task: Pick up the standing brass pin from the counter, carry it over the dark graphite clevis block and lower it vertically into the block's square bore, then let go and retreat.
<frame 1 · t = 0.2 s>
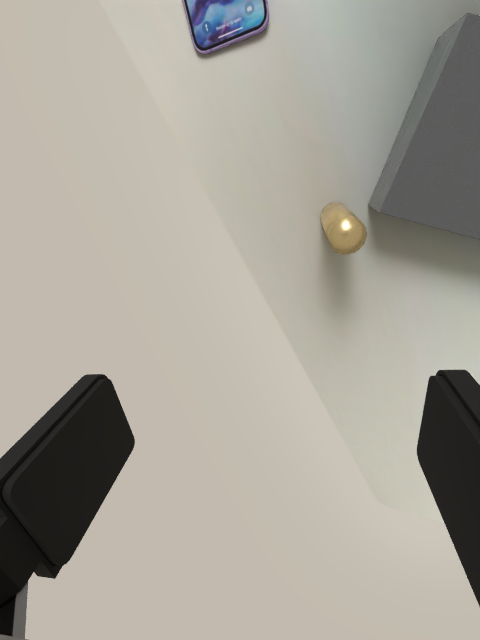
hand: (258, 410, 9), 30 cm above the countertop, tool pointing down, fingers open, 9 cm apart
brass pin: (334, 216, 34), on the countertop
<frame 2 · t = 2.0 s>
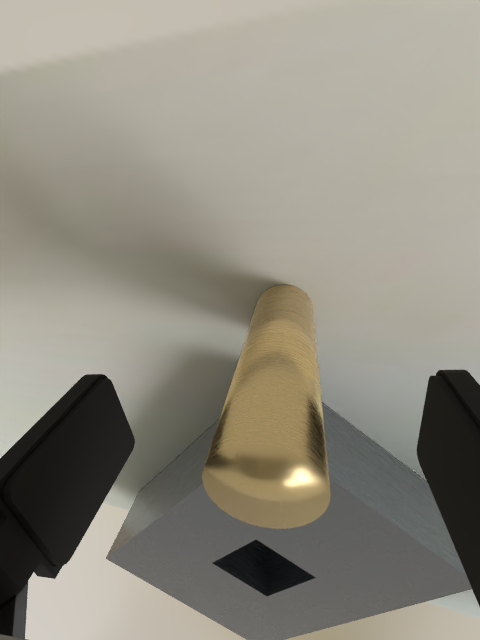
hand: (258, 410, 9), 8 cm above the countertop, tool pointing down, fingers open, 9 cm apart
brass pin: (284, 311, 16), on the countertop
clevis block: (269, 492, 23), on the countertop
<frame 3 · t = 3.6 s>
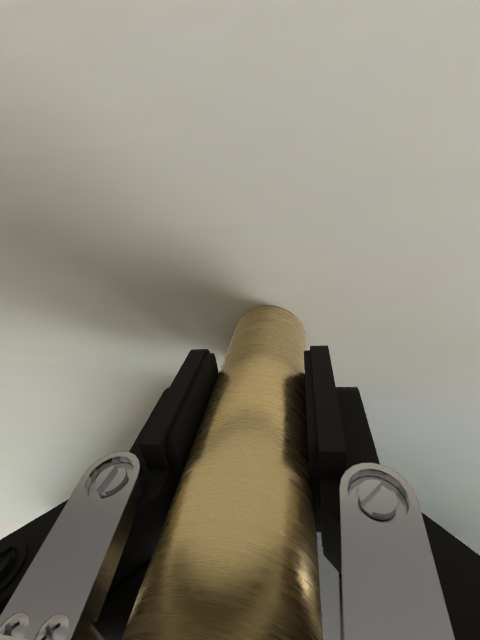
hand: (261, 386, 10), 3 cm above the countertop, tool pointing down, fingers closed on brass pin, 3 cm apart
brass pin: (269, 338, 13), on the countertop, touching gripper
clevis block: (257, 534, 20), on the countertop
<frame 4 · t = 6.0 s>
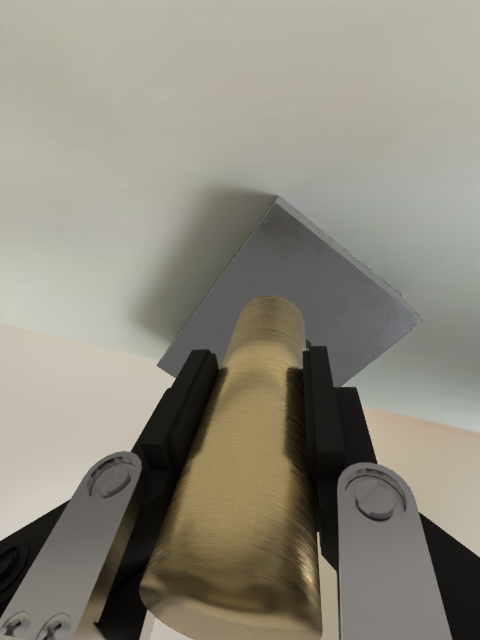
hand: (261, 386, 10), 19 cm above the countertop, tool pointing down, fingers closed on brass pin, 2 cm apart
brass pin: (270, 325, 14), point 15 cm above the countertop, touching gripper
clevis block: (276, 319, 30), on the countertop
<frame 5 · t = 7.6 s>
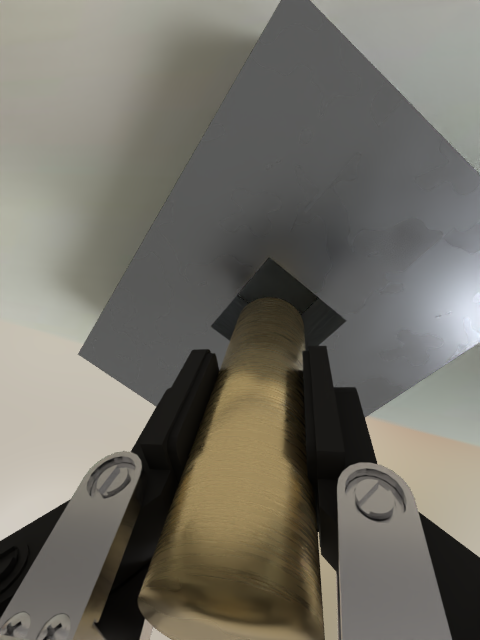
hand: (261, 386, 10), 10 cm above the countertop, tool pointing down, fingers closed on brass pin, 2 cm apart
brass pin: (269, 328, 14), point 6 cm above the countertop, touching gripper
clevis block: (280, 286, 18), on the countertop
when the fingers open (6 cm above the countertop, at t = 8.7 s): brass pin drops 2 cm, resting in clevis block.
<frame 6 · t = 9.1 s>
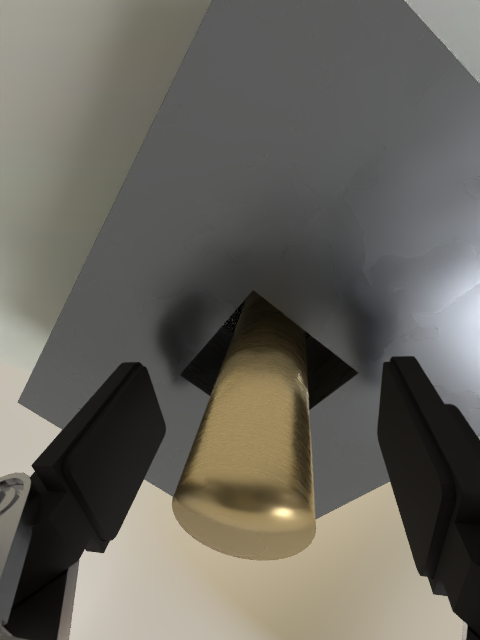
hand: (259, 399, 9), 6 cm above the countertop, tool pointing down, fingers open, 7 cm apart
brass pin: (273, 312, 15), resting in clevis block
clevis block: (272, 312, 15), on the countertop
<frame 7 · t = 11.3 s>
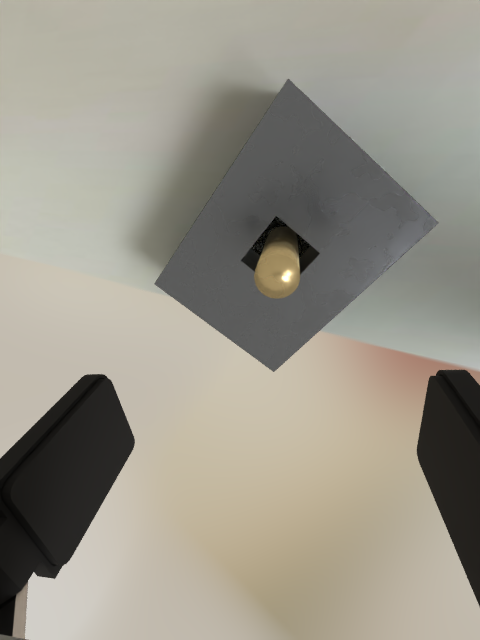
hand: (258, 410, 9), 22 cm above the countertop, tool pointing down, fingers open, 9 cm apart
brass pin: (281, 242, 28), resting in clevis block
clevis block: (281, 242, 28), on the countertop
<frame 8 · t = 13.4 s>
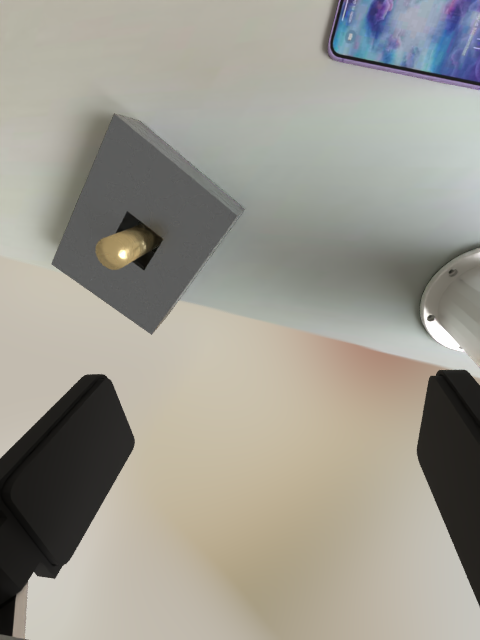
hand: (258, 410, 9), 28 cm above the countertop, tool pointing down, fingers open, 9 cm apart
brass pin: (155, 232, 36), resting in clevis block
smartphone: (425, 23, 25), on the countertop
clevis block: (155, 232, 36), on the countertop
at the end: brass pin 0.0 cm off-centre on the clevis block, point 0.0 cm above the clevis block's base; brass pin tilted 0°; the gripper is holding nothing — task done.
